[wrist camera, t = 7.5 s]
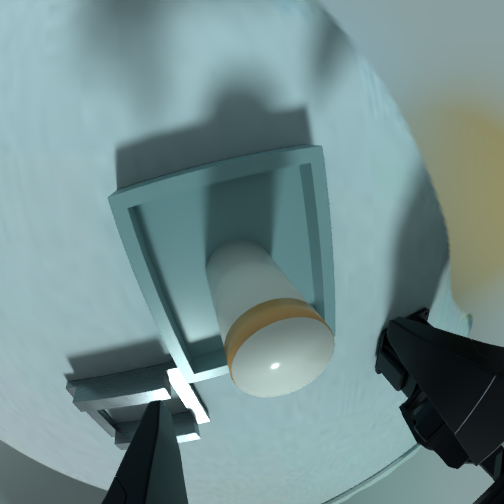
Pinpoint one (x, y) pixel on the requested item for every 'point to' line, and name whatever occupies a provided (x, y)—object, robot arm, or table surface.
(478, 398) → the robot arm
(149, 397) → the clip rails
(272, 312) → the cylinder
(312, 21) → the table surface
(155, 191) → the tray
